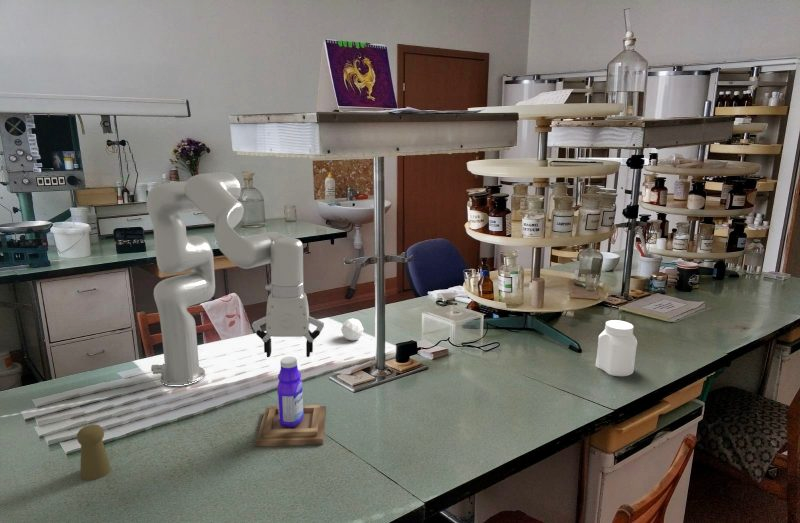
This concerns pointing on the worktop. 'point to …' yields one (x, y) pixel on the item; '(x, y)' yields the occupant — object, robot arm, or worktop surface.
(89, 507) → the worktop surface
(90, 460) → the tan game pawn
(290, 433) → the walnut base
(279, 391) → the bottle
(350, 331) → the geometric ball
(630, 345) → the jar
